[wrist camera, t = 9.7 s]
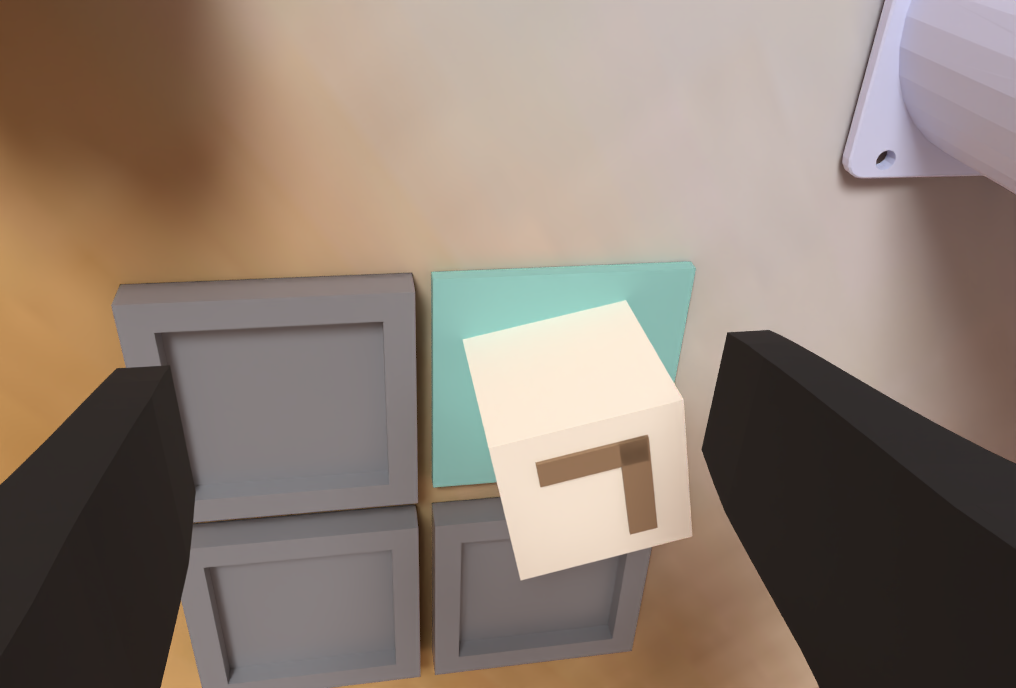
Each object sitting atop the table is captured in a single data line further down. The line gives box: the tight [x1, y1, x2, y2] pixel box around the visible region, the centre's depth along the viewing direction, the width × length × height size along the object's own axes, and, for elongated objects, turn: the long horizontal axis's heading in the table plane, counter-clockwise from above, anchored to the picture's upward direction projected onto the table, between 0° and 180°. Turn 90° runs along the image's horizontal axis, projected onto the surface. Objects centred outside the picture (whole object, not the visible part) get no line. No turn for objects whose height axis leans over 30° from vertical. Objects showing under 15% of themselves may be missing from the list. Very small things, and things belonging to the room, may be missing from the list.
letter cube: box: [463, 300, 692, 580], centre depth 22 cm, size 4×4×5 cm
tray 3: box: [432, 497, 652, 675], centre depth 28 cm, size 7×7×1 cm
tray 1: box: [111, 273, 418, 522], centre depth 23 cm, size 7×7×1 cm
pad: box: [431, 262, 696, 488], centre depth 24 cm, size 7×7×1 cm
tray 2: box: [181, 505, 420, 688], centre depth 27 cm, size 7×7×1 cm
